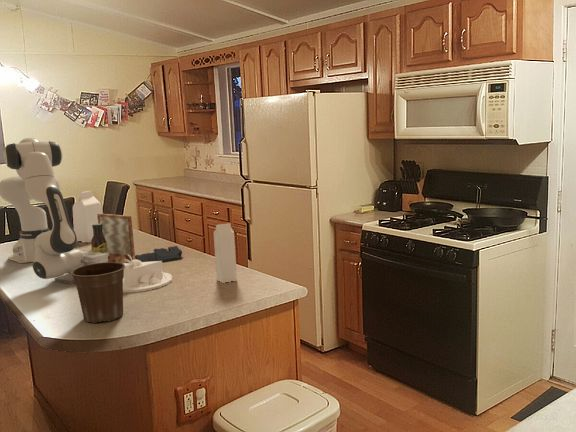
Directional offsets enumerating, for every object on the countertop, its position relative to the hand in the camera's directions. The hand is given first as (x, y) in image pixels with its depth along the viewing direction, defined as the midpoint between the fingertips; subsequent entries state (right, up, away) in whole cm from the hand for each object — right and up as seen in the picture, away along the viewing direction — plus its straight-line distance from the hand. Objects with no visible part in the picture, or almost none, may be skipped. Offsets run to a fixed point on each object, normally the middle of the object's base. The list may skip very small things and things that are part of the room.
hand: (101, 252), depth 237 cm
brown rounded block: (+8, -7, +2) cm, 11 cm away
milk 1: (-27, +3, +65) cm, 70 cm away
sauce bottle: (0, -8, +1) cm, 8 cm away
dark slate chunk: (+20, -5, +16) cm, 26 cm away
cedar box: (0, -7, +1) cm, 8 cm away
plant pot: (+19, -17, -57) cm, 62 cm away
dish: (+21, -11, -20) cm, 31 cm away
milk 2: (+55, -9, -22) cm, 60 cm away
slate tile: (-7, -10, -11) cm, 17 cm away
